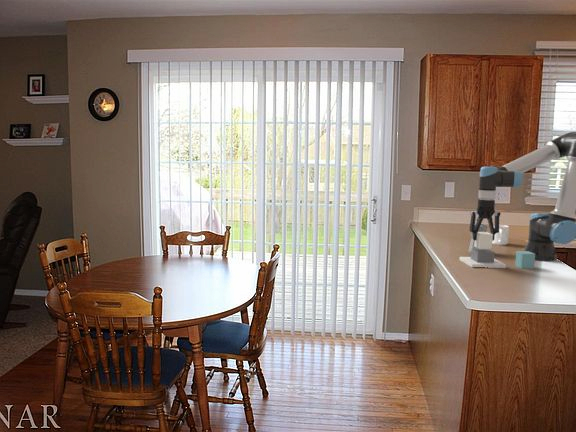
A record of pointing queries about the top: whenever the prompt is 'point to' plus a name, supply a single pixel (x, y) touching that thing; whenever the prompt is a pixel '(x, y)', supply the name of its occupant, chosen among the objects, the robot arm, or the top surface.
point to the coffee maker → (481, 229)
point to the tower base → (490, 265)
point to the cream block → (485, 240)
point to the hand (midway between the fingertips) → (483, 246)
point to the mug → (501, 235)
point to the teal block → (525, 259)
